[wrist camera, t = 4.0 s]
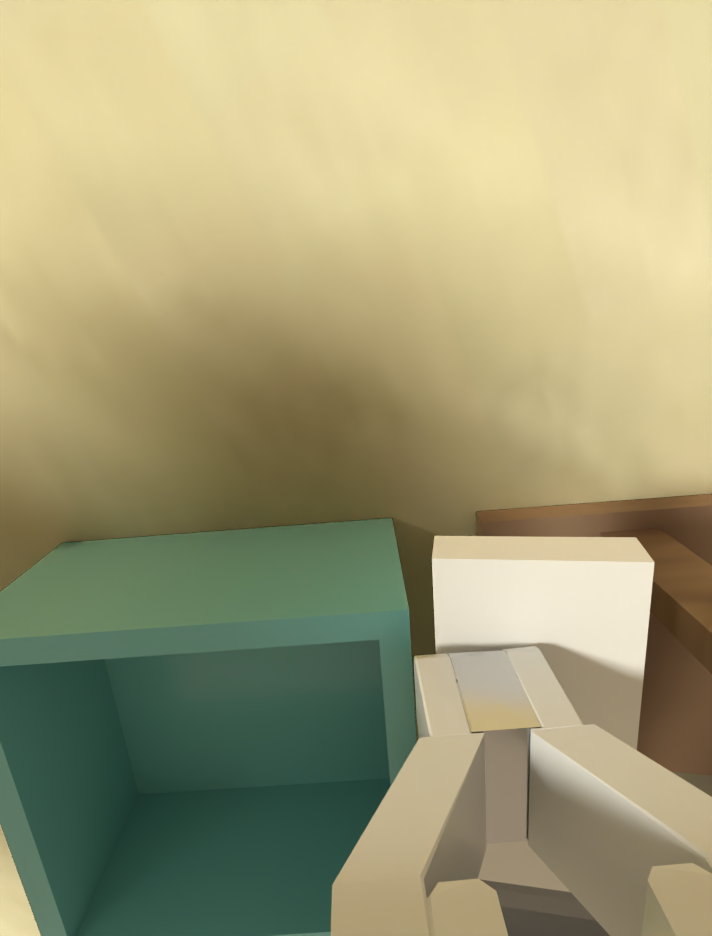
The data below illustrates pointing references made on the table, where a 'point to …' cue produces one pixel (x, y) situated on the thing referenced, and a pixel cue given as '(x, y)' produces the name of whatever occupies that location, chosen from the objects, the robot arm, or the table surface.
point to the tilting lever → (568, 654)
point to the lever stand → (653, 609)
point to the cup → (201, 725)
